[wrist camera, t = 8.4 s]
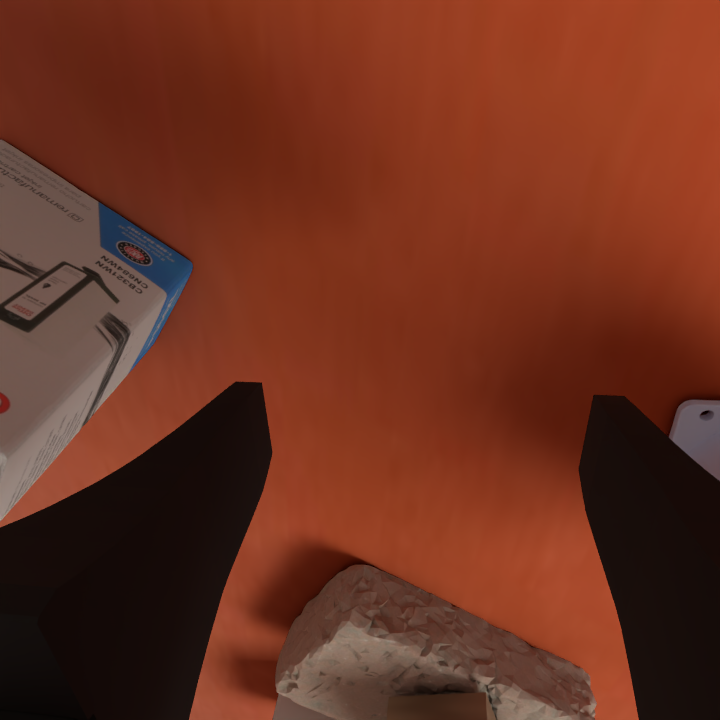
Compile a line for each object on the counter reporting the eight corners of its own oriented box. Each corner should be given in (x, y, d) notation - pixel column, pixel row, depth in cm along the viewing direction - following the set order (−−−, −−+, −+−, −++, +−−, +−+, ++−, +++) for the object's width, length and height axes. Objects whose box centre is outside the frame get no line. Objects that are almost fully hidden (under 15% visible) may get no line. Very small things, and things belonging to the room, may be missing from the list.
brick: (597, 666, 34) (616, 754, 30) (506, 723, 38) (513, 806, 34) (353, 542, 31) (339, 620, 27) (284, 617, 36) (264, 695, 32)
